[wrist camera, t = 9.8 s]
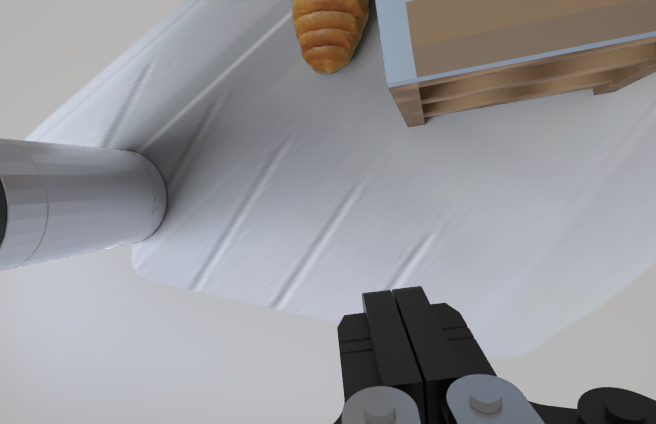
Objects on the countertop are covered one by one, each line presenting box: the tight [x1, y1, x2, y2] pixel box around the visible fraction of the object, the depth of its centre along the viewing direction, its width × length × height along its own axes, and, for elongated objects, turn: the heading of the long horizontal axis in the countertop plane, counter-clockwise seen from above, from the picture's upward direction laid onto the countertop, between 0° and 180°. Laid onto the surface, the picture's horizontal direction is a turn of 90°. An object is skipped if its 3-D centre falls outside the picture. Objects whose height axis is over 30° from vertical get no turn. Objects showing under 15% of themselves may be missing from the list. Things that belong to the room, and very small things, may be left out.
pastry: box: [292, 0, 370, 74], centre depth 39 cm, size 9×7×4 cm
